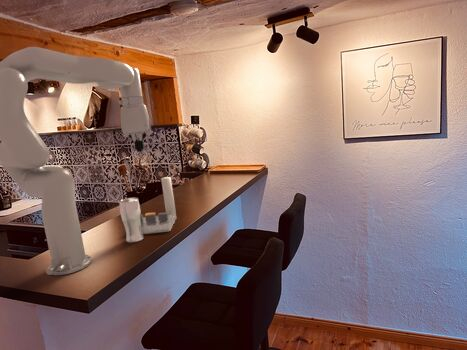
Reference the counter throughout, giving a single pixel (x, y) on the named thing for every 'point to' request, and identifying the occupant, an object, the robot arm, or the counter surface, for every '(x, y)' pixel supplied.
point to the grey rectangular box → (163, 216)
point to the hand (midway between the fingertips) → (140, 151)
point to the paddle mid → (150, 217)
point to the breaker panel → (157, 225)
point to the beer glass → (131, 219)
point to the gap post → (168, 196)
